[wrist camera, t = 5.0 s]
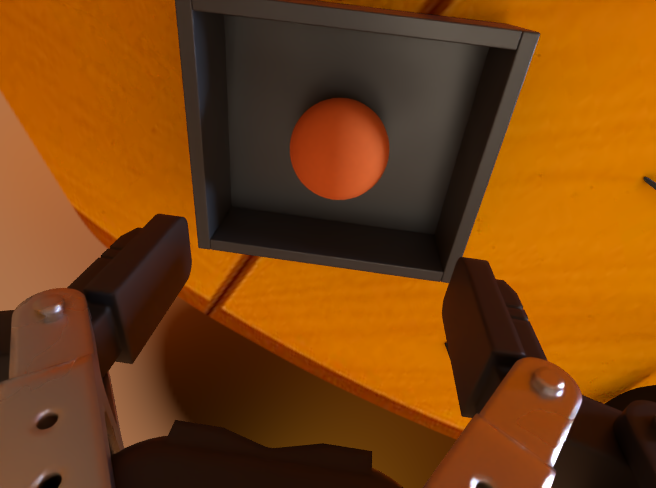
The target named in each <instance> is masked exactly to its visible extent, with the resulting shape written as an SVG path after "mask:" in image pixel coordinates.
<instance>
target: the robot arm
mask: <svg viewBox="0 0 656 488" xmlns="http://www.w3.org/2000/svg"><path fill="white" fill-rule="evenodd" d="M191 265H192V259H191V250H190V241H189V232H188V224H187V220H186V219H185V218H184V217H179V216H172V215H165V214H157V215H155V216H154V217H153V218H152V219H151V220H150V221H149V222H148V223H147V224H146V225H145V226H144V227H143V228H136V229H134V230H132V231H130V232H128V233H126V234H124V235H122V236H121V237H119V238H118V239H117V240H116V241H115V242H114V243H113V244H112V245H111V246H110V249H107V250H106V251H105V252H104V253H103V254H102V255H101V258H98V259H97V260H96V261H95V262H94V263H92V264H91V265H90V266H89V267H88V268H87V269H86V270H85V271H84V272H83V273H82V274H81V275H80V276H79V277H78V278H77V279H76V280H75V281H74V282H73V283H72V284H71V285H70V286H68V287H67V288H57V289H51V290H46V291H43V292H40V293H37V294H35V295H33V296H31V297H29V298H27V299H26V300H25V301H23V302H22V303H21V304H19V305H18V307H17V308H16V309H15V310H9V311H0V488H403V487H401V486H400V485H399V484H398V483H397V482H395V481H394V480H393V479H391V478H390V477H388V476H387V475H385V474H383V473H382V472H380V471H378V470H376V469H374V468H372V451H367V450H361V449H355V448H348V447H342V446H336V445H329V444H313V445H303V446H292V447H282V448H268V447H265V446H263V445H260V444H258V443H256V442H253V441H252V440H249V439H247V438H245V437H243V436H240V435H238V434H236V433H234V432H232V431H229V430H227V429H225V428H222V427H216V426H210V425H203V424H197V423H191V422H185V421H178V420H175V422H174V424H173V426H172V428H171V431H170V433H169V435H168V436H162V437H157V438H152V439H148V440H145V441H142V442H139V443H136V444H134V445H131V446H129V447H127V448H124V446H123V442H122V438H121V433H120V428H119V422H118V416H117V411H116V406H115V400H114V395H113V390H112V384H111V379H110V375H109V372H108V371H109V369H110V368H111V366H112V365H113V364H114V362H115V361H116V362H123V363H129V364H133V362H134V361H135V359H136V358H137V356H138V355H139V353H140V352H141V350H142V349H143V347H144V346H145V344H146V342H147V341H148V339H149V338H150V336H151V335H152V333H153V332H154V330H155V329H156V327H157V326H158V324H159V323H160V321H161V320H162V318H163V317H164V315H165V314H166V312H167V310H168V309H169V307H170V306H171V304H172V303H173V301H174V300H175V298H176V297H177V295H178V294H179V292H180V291H181V289H182V288H183V286H184V285H185V283H186V281H187V280H188V278H189V275H190V271H191ZM442 318H443V324H444V329H445V334H446V339H447V344H448V349H449V354H450V359H451V364H452V369H453V375H454V380H455V385H456V390H457V395H458V400H459V405H460V410H461V415H462V416H463V417H469V418H472V419H471V421H470V422H469V424H468V425H467V426H466V428H465V429H464V431H463V432H462V433H461V435H460V436H459V438H458V439H457V440H456V442H455V443H454V445H453V446H452V447H451V449H450V450H449V452H448V453H447V454H446V456H445V457H444V459H443V460H442V461H441V463H440V464H439V466H438V467H437V468H436V470H435V471H434V473H433V474H432V475H431V477H430V479H429V480H428V481H427V482H426V484H425V485H424V487H423V488H550V487H552V488H656V402H652V401H647V400H636V401H633V402H631V403H630V404H629V405H628V406H627V407H626V408H625V410H624V411H620V410H618V409H615V408H613V407H610V406H608V405H605V404H603V403H600V402H598V401H595V400H593V399H590V398H588V397H586V396H583V395H582V394H581V391H580V389H579V387H578V385H577V384H576V382H575V381H574V380H573V378H572V377H571V376H570V375H569V374H568V373H566V372H565V371H564V370H563V369H561V368H560V367H558V366H557V365H555V364H553V363H551V362H548V361H547V359H546V356H545V354H544V352H543V350H542V348H541V345H540V343H539V341H538V339H537V337H536V335H535V332H534V330H533V328H532V326H531V324H530V321H528V317H527V315H526V313H525V310H523V306H522V304H521V302H520V300H519V297H518V295H517V293H516V292H515V291H514V290H513V289H512V288H511V287H510V286H509V285H508V284H507V283H506V282H505V281H504V280H497V279H495V277H494V274H493V272H492V270H491V267H490V265H489V263H488V261H486V260H479V259H472V258H465V257H460V258H459V259H458V260H457V262H456V265H455V268H454V271H453V274H452V276H451V279H450V282H449V285H448V288H447V291H446V294H445V297H444V301H443V307H442Z"/></svg>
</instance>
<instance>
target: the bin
mask: <svg viewBox="0 0 656 488" xmlns="http://www.w3.org/2000/svg"><path fill="white" fill-rule="evenodd" d="M175 6H176V16H177V27H178V37H179V48H180V58H181V68H182V79H183V89H184V100H185V110H186V121H187V131H188V142H189V152H190V163H191V173H192V184H193V194H194V205H195V215H196V226H197V236H198V247H199V248H204V249H212V250H219V251H226V252H233V253H240V254H247V255H254V256H261V257H268V258H275V259H282V260H289V261H297V262H304V263H311V264H318V265H325V266H332V267H339V268H346V269H353V270H360V271H367V272H374V273H381V274H388V275H395V276H402V277H410V278H417V279H424V280H431V281H438V282H440V281H441V282H446V283H449V282H450V279H451V276H452V274H453V271H454V268H455V265H456V262H457V260H458V259H459V258H460V257H462V256H463V253H464V250H465V247H466V245H467V242H468V239H469V236H470V233H471V230H472V227H473V225H474V222H475V219H476V216H477V213H478V210H479V207H480V205H481V202H482V199H483V196H484V193H485V190H486V187H487V185H488V182H489V179H490V176H491V173H492V170H493V167H494V165H495V162H496V159H497V156H498V153H499V150H500V148H501V145H502V142H503V139H504V136H505V133H506V130H507V128H508V125H509V122H510V119H511V116H512V113H513V110H514V108H515V105H516V102H517V99H518V96H519V93H520V90H521V88H522V85H523V82H524V79H525V76H526V73H527V71H528V68H529V65H530V62H531V59H532V56H533V53H534V51H535V48H536V45H537V42H538V39H539V36H540V33H539V32H536V31H532V30H528V29H524V28H521V27H517V26H513V25H509V24H504V23H496V22H488V21H480V20H471V19H463V18H455V17H447V16H439V15H430V14H422V13H414V12H406V11H397V10H389V9H381V8H373V7H365V6H356V5H348V4H340V3H332V2H323V1H315V0H175ZM331 98H349V99H353V100H356V101H359V102H361V103H363V104H365V105H366V106H368V107H369V108H370V109H372V110H373V111H374V112H375V113H376V114H377V116H378V117H379V118H380V119H381V121H382V123H383V124H384V127H385V129H386V132H387V135H388V139H389V158H388V162H387V166H386V168H385V171H384V173H383V174H382V176H381V178H380V179H379V180H378V182H377V183H376V184H375V185H374V186H373V187H372V188H371V189H369V190H368V191H367V192H365V193H364V194H362V195H360V196H357V197H355V198H351V199H346V200H332V199H327V198H324V197H321V196H319V195H317V194H315V193H313V192H312V191H310V190H309V189H308V188H307V187H306V186H305V185H304V184H303V183H302V182H301V181H300V180H299V178H298V177H297V175H296V173H295V171H294V169H293V166H292V163H291V158H290V140H291V136H292V132H293V130H294V127H295V125H296V123H297V122H298V120H299V119H300V117H301V116H302V115H303V114H304V113H305V112H306V111H307V110H308V109H309V108H310V107H312V106H313V105H315V104H317V103H319V102H321V101H324V100H327V99H331Z"/></svg>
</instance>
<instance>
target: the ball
mask: <svg viewBox="0 0 656 488" xmlns="http://www.w3.org/2000/svg"><path fill="white" fill-rule="evenodd" d="M290 158H291V163H292V166H293V169H294V171H295V173H296V175H297V177H298V178H299V180H300V181H301V182H302V183H303V184H304V185H305V186H306V187H307V188H308V189H309V190H310V191H312V192H313V193H315V194H317V195H319V196H321V197H324V198H327V199H332V200H346V199H351V198H355V197H357V196H360V195H362V194H364V193H365V192H367V191H368V190H369V189H371V188H372V187H373V186H374V185H375V184H376V183H377V182H378V180H379V179H380V178H381V176H382V174H383V173H384V171H385V168H386V166H387V162H388V158H389V139H388V135H387V132H386V129H385V127H384V124H383V123H382V121H381V119H380V118H379V117H378V116H377V114H376V113H375V112H374V111H373V110H372V109H370V108H369V107H368V106H366V105H365V104H363V103H361V102H359V101H356V100H353V99H349V98H331V99H327V100H324V101H321V102H319V103H317V104H315V105H313V106H312V107H310V108H309V109H308V110H307V111H306V112H305V113H304V114H303V115H302V116H301V117H300V119H299V120H298V122H297V123H296V125H295V127H294V130H293V132H292V136H291V140H290Z"/></svg>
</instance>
